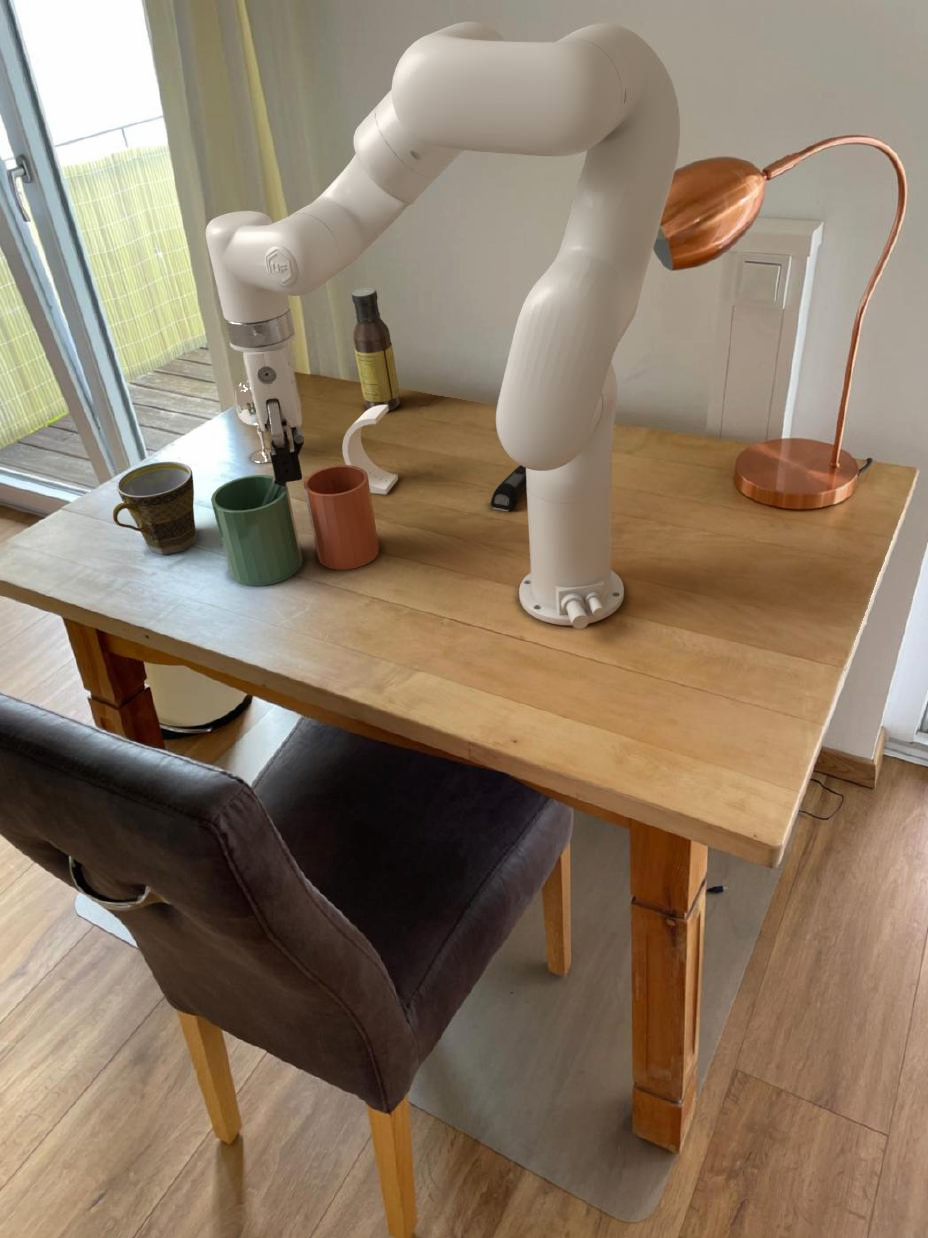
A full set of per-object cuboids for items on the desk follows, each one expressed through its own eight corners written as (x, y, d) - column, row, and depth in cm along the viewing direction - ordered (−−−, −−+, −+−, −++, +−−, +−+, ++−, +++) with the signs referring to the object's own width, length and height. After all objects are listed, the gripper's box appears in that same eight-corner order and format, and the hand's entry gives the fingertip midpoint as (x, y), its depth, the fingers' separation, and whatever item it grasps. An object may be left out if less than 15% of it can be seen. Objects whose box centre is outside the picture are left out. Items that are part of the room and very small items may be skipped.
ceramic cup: (172, 518, 146) (154, 456, 140) (223, 532, 141) (207, 468, 136) (105, 562, 137) (83, 498, 131) (157, 579, 133) (137, 513, 127)
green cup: (304, 579, 130) (288, 505, 123) (228, 591, 129) (209, 517, 123) (301, 541, 138) (286, 470, 131) (230, 552, 137) (212, 481, 130)
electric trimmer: (556, 464, 150) (556, 444, 148) (513, 512, 139) (511, 492, 137) (533, 460, 152) (533, 441, 150) (488, 508, 141) (487, 488, 139)
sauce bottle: (387, 395, 176) (372, 280, 164) (407, 405, 171) (393, 288, 160) (356, 406, 173) (338, 291, 161) (376, 417, 168) (359, 299, 157)
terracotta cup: (381, 564, 131) (370, 490, 125) (319, 574, 131) (304, 500, 124) (376, 532, 138) (365, 461, 131) (316, 542, 137) (302, 470, 131)
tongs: (318, 561, 133) (303, 434, 122) (240, 569, 132) (217, 441, 121) (317, 553, 135) (302, 427, 124) (240, 561, 133) (218, 434, 123)
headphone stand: (386, 494, 146) (375, 418, 139) (349, 490, 148) (336, 415, 141) (398, 479, 150) (388, 404, 143) (361, 475, 152) (349, 402, 145)
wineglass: (241, 463, 158) (224, 392, 151) (257, 447, 163) (242, 377, 156) (274, 466, 157) (258, 394, 150) (289, 449, 161) (275, 378, 154)
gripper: (294, 350, 108) (322, 493, 119) (291, 299, 122) (315, 432, 133) (225, 359, 108) (258, 503, 118) (229, 307, 122) (259, 440, 132)
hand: (288, 464), depth 125 cm, fingers open, 7 cm apart
